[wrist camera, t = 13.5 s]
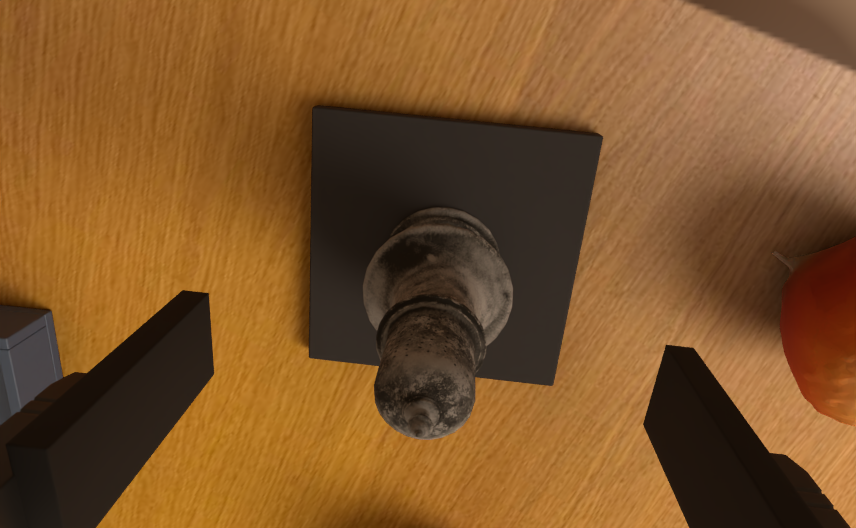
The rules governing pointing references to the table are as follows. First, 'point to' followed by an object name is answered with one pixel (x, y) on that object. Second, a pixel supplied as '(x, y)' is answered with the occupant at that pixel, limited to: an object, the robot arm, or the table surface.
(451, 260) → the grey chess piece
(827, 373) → the fruit
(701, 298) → the table surface
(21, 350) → the tray
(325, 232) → the mat
